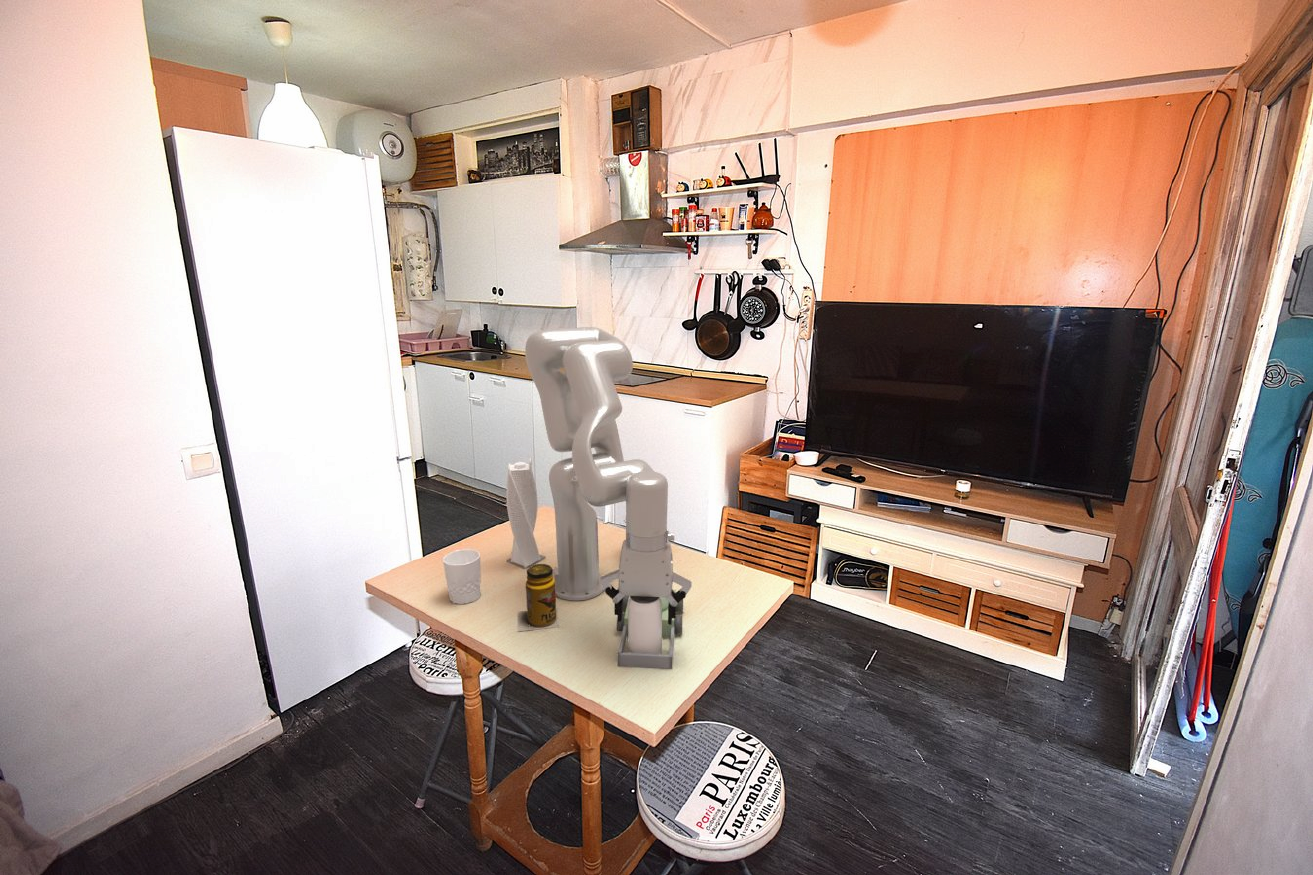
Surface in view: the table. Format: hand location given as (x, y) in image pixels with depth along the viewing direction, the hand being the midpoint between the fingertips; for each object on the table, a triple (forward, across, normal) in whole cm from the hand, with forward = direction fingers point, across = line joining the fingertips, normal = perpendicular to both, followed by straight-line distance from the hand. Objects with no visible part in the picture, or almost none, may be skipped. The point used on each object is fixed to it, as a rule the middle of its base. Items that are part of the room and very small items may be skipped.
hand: (645, 619), depth 111 cm
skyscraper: (+8, +33, -34) cm, 49 cm away
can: (+7, 0, +1) cm, 7 cm away
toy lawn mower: (+7, -1, -5) cm, 8 cm away
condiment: (+7, +23, -8) cm, 26 cm away
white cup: (+8, +42, -16) cm, 46 cm away
